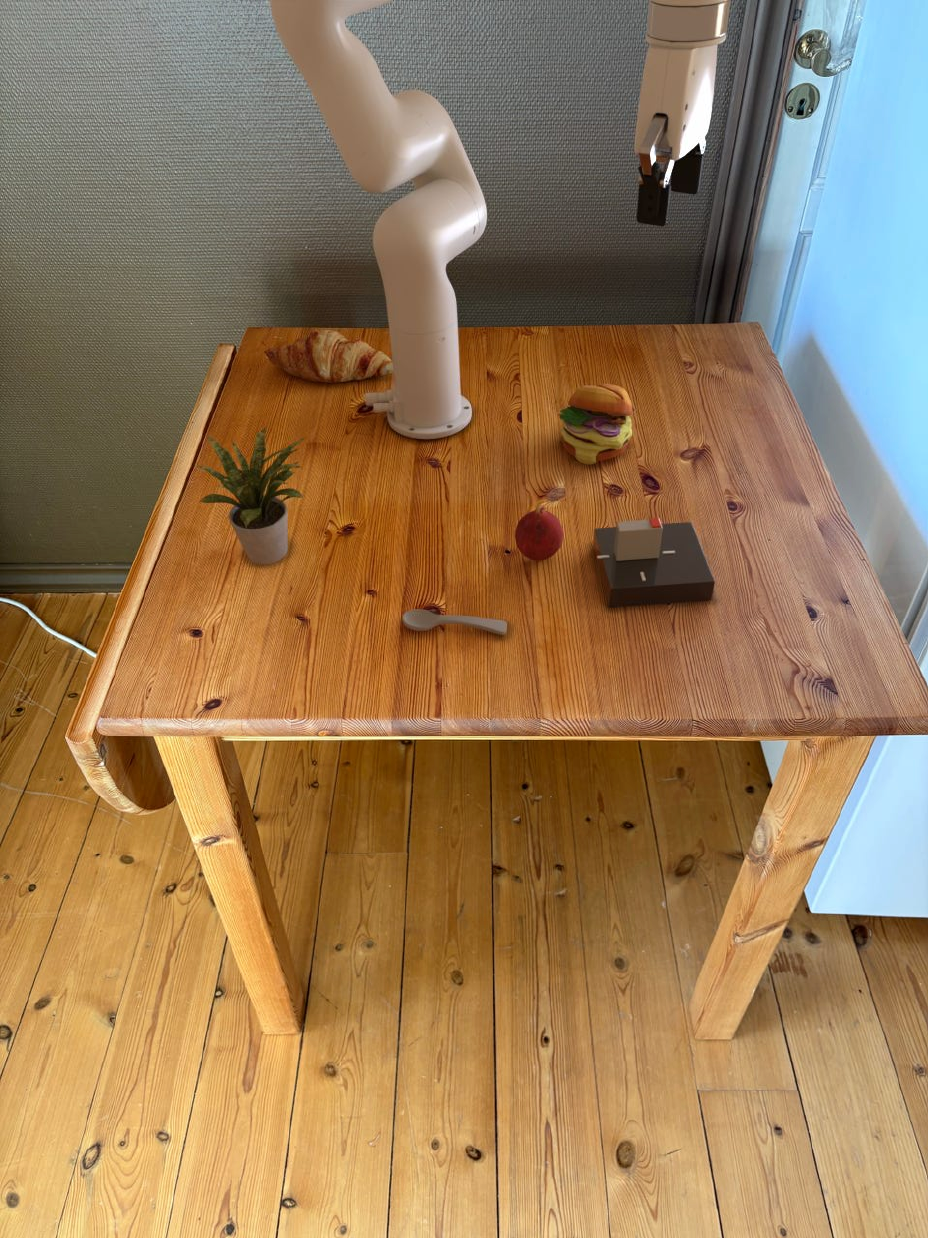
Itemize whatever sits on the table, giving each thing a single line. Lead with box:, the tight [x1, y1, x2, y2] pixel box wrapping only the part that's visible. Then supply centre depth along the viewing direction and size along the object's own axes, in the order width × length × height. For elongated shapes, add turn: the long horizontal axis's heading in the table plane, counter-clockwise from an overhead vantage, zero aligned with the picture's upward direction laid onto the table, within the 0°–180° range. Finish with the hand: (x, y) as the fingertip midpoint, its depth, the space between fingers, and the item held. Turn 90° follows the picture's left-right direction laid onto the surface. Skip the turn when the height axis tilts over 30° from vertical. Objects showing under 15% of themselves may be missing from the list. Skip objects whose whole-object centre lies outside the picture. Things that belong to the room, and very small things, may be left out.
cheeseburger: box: [558, 383, 636, 465], centre depth 129 cm, size 10×11×10 cm
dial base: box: [592, 521, 716, 609], centre depth 110 cm, size 13×11×3 cm
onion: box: [514, 504, 564, 562], centre depth 111 cm, size 6×6×8 cm
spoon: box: [401, 608, 508, 636], centre depth 105 cm, size 3×12×2 cm, turn 84°
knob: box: [614, 517, 663, 561], centre depth 108 cm, size 5×2×5 cm, turn 94°
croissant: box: [266, 328, 393, 384], centre depth 147 cm, size 21×10×8 cm, turn 80°
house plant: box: [197, 426, 307, 566], centre depth 111 cm, size 14×14×16 cm
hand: (668, 207), depth 100 cm, fingers open, 9 cm apart
